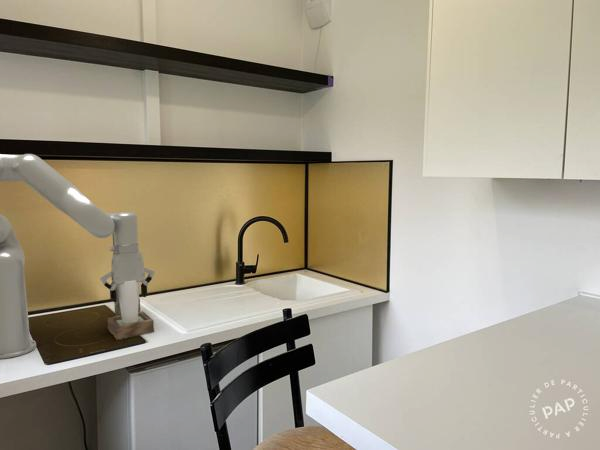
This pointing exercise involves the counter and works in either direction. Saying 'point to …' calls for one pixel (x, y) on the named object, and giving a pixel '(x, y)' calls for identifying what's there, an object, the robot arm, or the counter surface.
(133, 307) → the drinking glass
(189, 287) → the counter surface
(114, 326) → the wooden tray
